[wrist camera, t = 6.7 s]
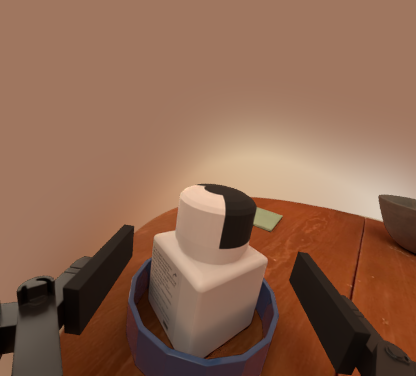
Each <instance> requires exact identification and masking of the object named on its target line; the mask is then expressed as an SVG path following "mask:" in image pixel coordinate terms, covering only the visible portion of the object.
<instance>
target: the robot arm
mask: <svg viewBox="0 0 416 376" xmlns="http://www.w3.org/2000/svg"><path fill="white" fill-rule="evenodd" d="M133 237H134V226H131V225H124V226H123V227H122V228H121V229H120V230H119V231H118V232H117V233H116V234H115V235H114V236H113V237H112V238H111V239H110V240H109V241H108V242H107V243H106V244H105V245H104V246H103V247H102V248H101V249H100V250H99V251H98V252H97V253H96V254H95V255H94V256H93V257H86V256H84V257H82V258H80V259H79V260H77V261H75V262H74V263H73V264H72V265H71V266H70V268H68V269H67V270H66V271H65V272H64V273H62V274H61V275H60V276H59V277H58V278H57V279H56V280H54V278H52V277H50V276H39V277H35V278H32V279H30V280H27V281H26V282H24V283H23V284H22V285H20V286H19V287H18V290H17V299H18V302H12V303H4V304H1V303H0V359H1V357H2V354H7V353H12V352H14V355H13V365H12V375H11V376H63V371H62V359H61V348H60V337H59V330H60V329H61V328H62V326H63V325H64V331H65V333H69V334H76V335H80V334H81V333H82V331H83V330H84V328H85V327H86V325H87V324H88V322H89V321H90V319H91V318H92V316H93V315H94V313H95V312H96V310H97V309H98V307H99V306H100V304H101V303H102V301H103V300H104V298H105V297H106V295H107V294H108V292H109V291H110V289H111V288H112V286H113V285H114V283H115V282H116V280H117V279H118V277H119V275H120V274H121V272H122V271H123V269H124V268H125V266H126V265H127V263H128V262H129V260H130V259H131V257H132V252H133ZM289 281H290V283H291V285H292V287H293V289H294V291H295V293H296V295H297V297H298V299H299V301H300V303H301V305H302V307H303V309H304V311H305V312H306V314H307V316H308V318H309V320H310V322H311V324H312V326H313V328H314V330H315V332H316V334H317V336H318V338H319V340H320V342H321V344H322V346H323V348H324V350H325V351H326V353H327V355H328V357H329V359H330V361H331V363H332V365H333V367H334V369H335V371H336V373H339V374H346V375H352V373H353V371H354V369H355V367H356V368H357V369H358V371H359V373H360V374H361V376H416V362H414V361H411V359H410V358H409V357H408V355H407V354H406V353H405V352H403V351H402V350H401V349H400V348H399V347H397V346H396V345H394V344H392V343H390V342H388V341H385V340H383V339H382V337H381V336H380V335H379V334H378V332H377V331H376V330H375V329H374V328H373V326H372V325H371V324H370V323H369V322H368V320H367V319H366V318H364V315H363V314H362V313H361V312H359V309H358V308H357V307H356V306H355V305H354V303H353V302H352V301H350V300H349V299H348V298H347V297H346V296H344V295H340V294H339V292H338V291H337V290H336V289H335V287H334V286H333V285H332V283H331V282H330V281H329V280H328V278H327V277H326V276H325V275H324V273H323V272H322V271H321V269H320V268H319V267H318V266H317V264H316V263H315V262H314V261H313V259H312V258H311V257H310V255H309V254H308V253H303V252H298V254H297V257H296V261H295V264H294V267H293V270H292V273H291V276H290V279H289Z"/></svg>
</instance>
